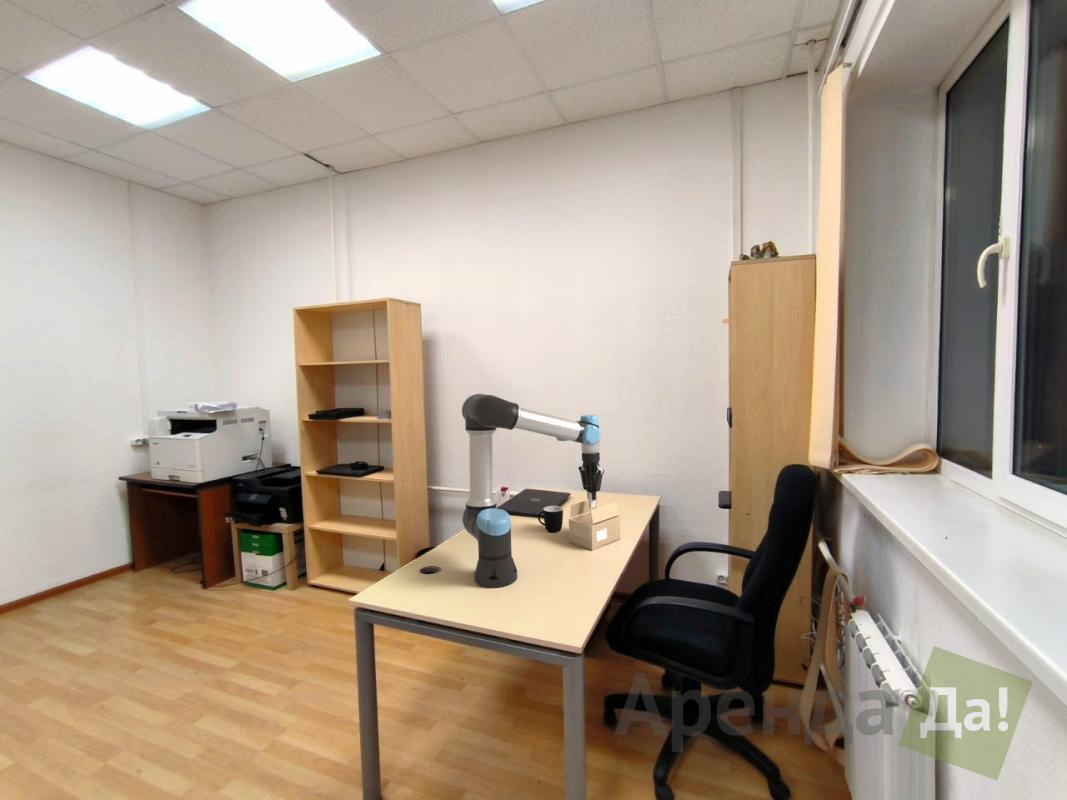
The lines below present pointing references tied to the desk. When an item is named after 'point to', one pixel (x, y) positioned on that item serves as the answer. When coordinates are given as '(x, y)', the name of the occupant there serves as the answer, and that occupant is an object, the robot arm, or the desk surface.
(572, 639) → the desk surface
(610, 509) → the right flap
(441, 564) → the desk surface
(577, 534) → the carton
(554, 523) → the mug
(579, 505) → the left flap
